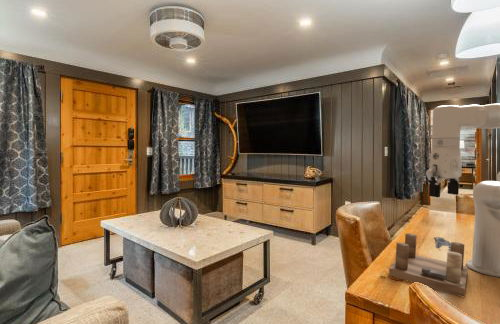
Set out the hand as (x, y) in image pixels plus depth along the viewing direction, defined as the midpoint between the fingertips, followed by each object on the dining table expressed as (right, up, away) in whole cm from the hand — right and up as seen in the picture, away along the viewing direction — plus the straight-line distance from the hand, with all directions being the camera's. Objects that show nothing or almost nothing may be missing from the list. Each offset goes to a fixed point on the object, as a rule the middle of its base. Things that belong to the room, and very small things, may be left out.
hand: (443, 195), depth 94 cm
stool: (-4, -27, +1) cm, 27 cm away
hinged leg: (-6, -24, -6) cm, 26 cm away
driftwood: (+21, -27, +32) cm, 47 cm away
